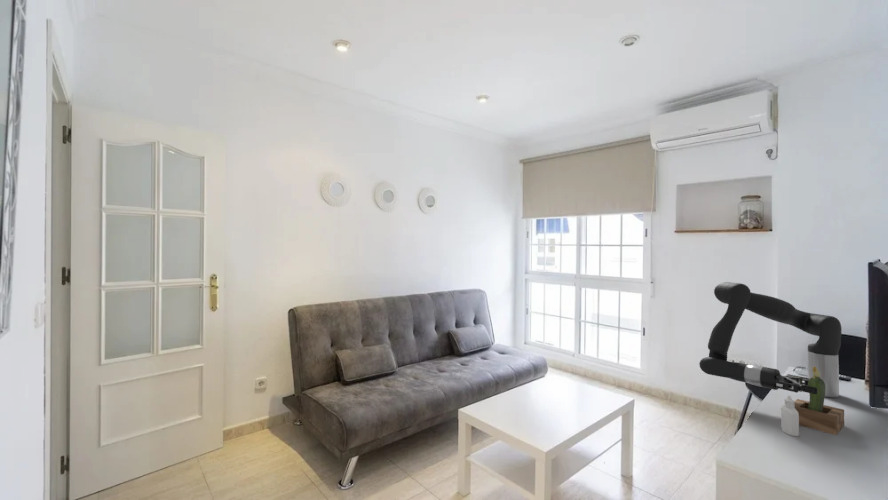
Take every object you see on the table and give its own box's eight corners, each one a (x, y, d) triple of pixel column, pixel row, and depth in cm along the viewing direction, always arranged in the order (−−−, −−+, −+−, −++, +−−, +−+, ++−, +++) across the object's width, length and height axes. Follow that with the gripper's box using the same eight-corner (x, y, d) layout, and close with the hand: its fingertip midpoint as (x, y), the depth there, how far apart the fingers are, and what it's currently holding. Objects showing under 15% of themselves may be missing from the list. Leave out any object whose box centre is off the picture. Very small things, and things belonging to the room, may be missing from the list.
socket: (797, 413, 141) (797, 398, 141) (844, 425, 131) (844, 409, 131) (787, 421, 134) (787, 406, 134) (835, 435, 124) (835, 418, 124)
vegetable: (816, 421, 135) (819, 364, 135) (827, 427, 130) (830, 368, 130) (802, 420, 135) (805, 364, 135) (813, 426, 131) (816, 367, 131)
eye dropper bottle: (799, 431, 127) (798, 395, 127) (799, 437, 123) (798, 400, 123) (781, 427, 130) (780, 392, 130) (780, 433, 126) (780, 396, 126)
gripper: (755, 369, 141) (815, 381, 128) (768, 363, 149) (826, 374, 136) (755, 390, 141) (815, 404, 128) (768, 383, 149) (826, 395, 136)
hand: (821, 388), depth 132 cm, fingers open, 8 cm apart
